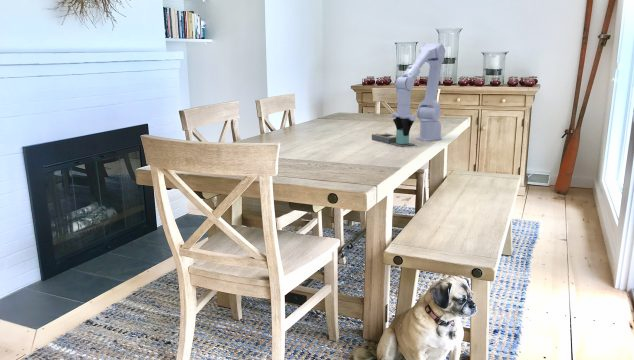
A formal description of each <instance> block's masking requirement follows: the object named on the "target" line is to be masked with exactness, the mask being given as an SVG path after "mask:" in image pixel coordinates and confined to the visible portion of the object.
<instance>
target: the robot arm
mask: <svg viewBox="0 0 634 360" xmlns="http://www.w3.org/2000/svg"><path fill="white" fill-rule="evenodd" d="M445 54H446V49H445V45H444V44H443V43H440V42H439V43H422V45H421V46H420V47H419V54H418V55H417V57H416V59H415V61H414V62H413V64H409V65H408V66H407V68H406V69H405V71H404V72H403V74H402V75H401V76H398V77H397V78H396V79H395V83H394V88H395V90H396V91H395V92H396V94H397V97H396V99H397V102H396V106H397V107H396V112H392V113H391V117H392V118H393V119H392V122H393V123H394V125H395V127H396V130H398V129H401V128H403V133H404V136H408V135H409V136H410V131H411V128H412V125H413V124H414V122H415V121H416V117H417V118H418V120H419V123H420V124H419V126H420V129H419V137H416V138H415V139H416V140H420V141H423V142H431V141H439V140H440V141H441V140H442V139H443V138H442V124H441V122H440V120H439V119H440V117H441V104H440V103H439V102H438V101H437V97H438V90H439V83H440V79H441V78H440V77H441V72H442V65H443V63H444V60H445ZM425 63H427V64H428V65H429V69H428V75H427V80H426V81H427V82H426V88H425V94H424V99H423V100H422V101H420V102H419V105H418V108H417V110H416V115H413V114H411V99H412V98H411V97H412V95H411V94H412V92H411V91H412V90H413V88H414V86H415V82H416V79H417V78H418V76H419V75H420V73H421V70H420V69H421V68H422V67H423V66H424V64H425Z"/></svg>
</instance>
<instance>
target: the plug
mask: <svg viewBox="0 0 634 360" xmlns="http://www.w3.org/2000/svg"><path fill="white" fill-rule="evenodd" d="M395 133H396V134H395V135H396V143H399V144H408V143H410V134H409V135H408V136H404V133H403V128H401V129H398V130H397V129H396V132H395Z"/></svg>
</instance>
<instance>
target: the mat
mask: <svg viewBox="0 0 634 360" xmlns="http://www.w3.org/2000/svg"><path fill="white" fill-rule="evenodd" d="M389 145H391V146H396V147H399V148H403V147H404V148H405V147H413V146H416V144H415V143H411V142H409V143H408V144H399V143H390V144H389Z"/></svg>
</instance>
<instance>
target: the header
mask: <svg viewBox="0 0 634 360" xmlns="http://www.w3.org/2000/svg"><path fill="white" fill-rule="evenodd" d="M371 140H373V141H377V142H380V143H384V144H387V145H388V144H389V145H391V144H390V143H396V134H392V133H388V132H379V133H372V134H371Z"/></svg>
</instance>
